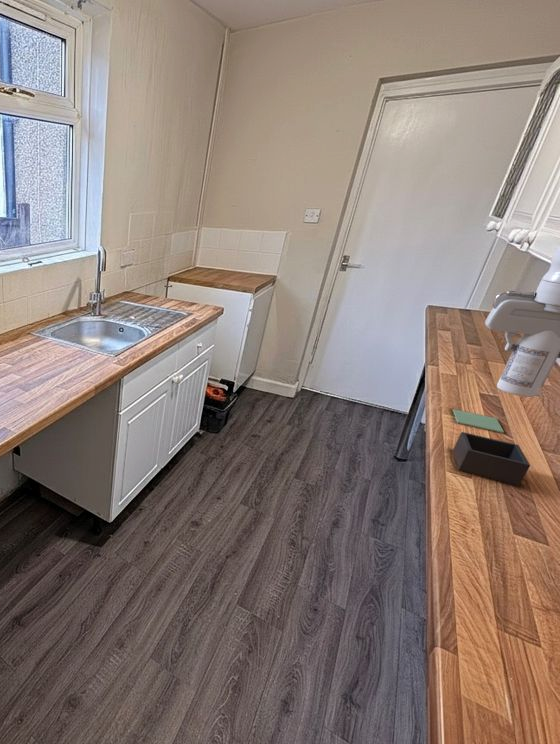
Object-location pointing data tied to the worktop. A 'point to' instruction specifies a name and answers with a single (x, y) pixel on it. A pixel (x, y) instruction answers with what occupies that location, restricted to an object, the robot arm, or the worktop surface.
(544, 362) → the bath foam
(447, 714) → the worktop surface
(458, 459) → the holder
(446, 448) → the worktop surface
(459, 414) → the mat
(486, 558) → the worktop surface
